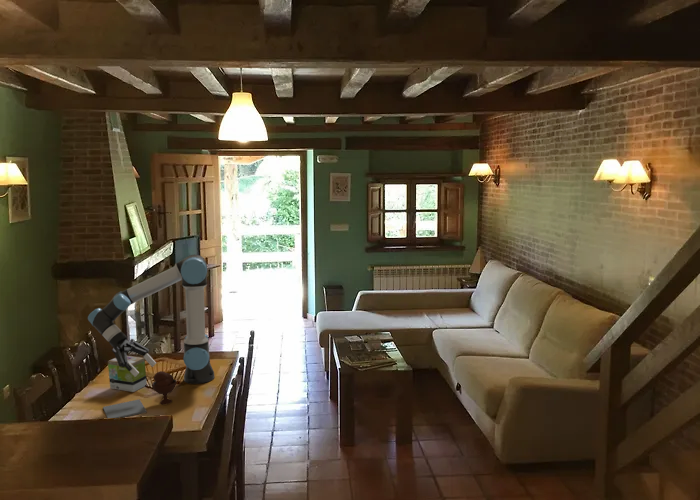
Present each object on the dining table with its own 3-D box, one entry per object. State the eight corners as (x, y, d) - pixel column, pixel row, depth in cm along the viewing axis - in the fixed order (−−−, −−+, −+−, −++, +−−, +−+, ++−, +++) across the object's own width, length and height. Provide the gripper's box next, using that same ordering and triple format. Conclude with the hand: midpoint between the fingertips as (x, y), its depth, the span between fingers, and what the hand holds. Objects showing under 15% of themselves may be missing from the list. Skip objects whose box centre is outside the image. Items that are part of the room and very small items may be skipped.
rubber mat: (139, 400, 288) (139, 399, 288) (146, 412, 275) (146, 410, 274) (103, 408, 281) (102, 406, 281) (108, 420, 267) (108, 419, 267)
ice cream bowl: (171, 407, 279) (168, 375, 277) (148, 406, 281) (146, 374, 279) (182, 398, 289) (179, 367, 287) (160, 397, 292) (157, 366, 290)
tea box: (109, 389, 305) (106, 360, 303) (123, 382, 314) (121, 354, 312) (133, 392, 299) (131, 363, 297) (147, 385, 309) (145, 356, 307)
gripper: (127, 334, 300) (156, 366, 298) (92, 350, 276) (124, 384, 274) (135, 324, 298) (165, 356, 296) (101, 339, 274) (134, 373, 272)
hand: (146, 369), depth 285 cm, fingers open, 13 cm apart
